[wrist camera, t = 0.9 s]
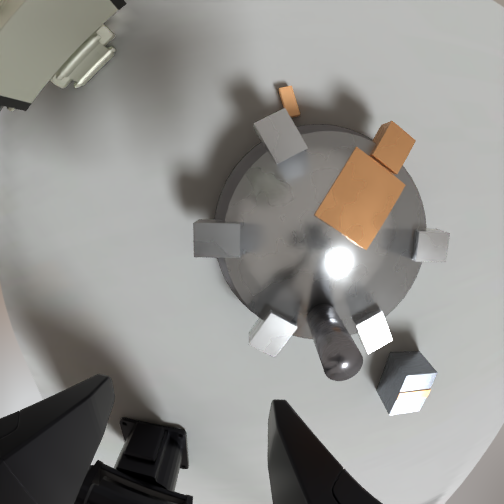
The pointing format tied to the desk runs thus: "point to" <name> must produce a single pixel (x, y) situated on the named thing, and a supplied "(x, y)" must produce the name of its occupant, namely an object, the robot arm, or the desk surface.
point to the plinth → (253, 156)
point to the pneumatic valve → (51, 45)
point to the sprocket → (324, 239)
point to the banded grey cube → (405, 382)
